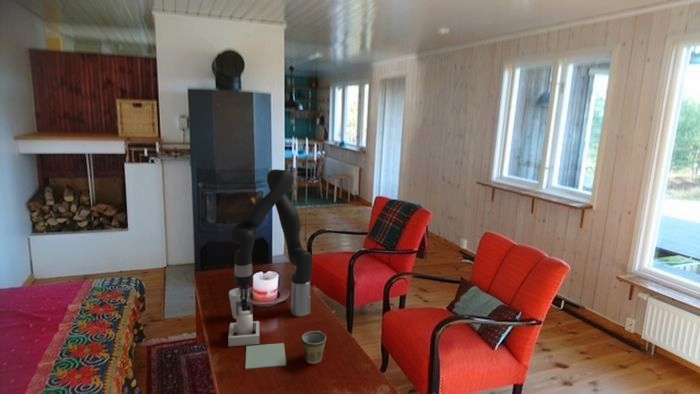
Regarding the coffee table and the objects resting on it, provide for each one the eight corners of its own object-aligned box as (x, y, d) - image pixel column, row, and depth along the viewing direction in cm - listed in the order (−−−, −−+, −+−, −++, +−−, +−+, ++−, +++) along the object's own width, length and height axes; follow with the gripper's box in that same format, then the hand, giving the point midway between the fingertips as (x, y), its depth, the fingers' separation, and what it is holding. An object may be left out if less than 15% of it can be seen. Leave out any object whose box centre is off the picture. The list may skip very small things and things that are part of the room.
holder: (259, 328, 195) (259, 321, 195) (259, 344, 183) (259, 335, 182) (230, 331, 193) (230, 323, 192) (228, 346, 180) (228, 338, 179)
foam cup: (251, 312, 210) (251, 288, 208) (245, 321, 201) (245, 296, 199) (233, 311, 211) (233, 287, 209) (226, 320, 202) (225, 295, 200)
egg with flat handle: (237, 329, 190) (236, 298, 187) (252, 327, 192) (252, 297, 188) (236, 337, 183) (235, 305, 180) (252, 335, 185) (252, 304, 182)
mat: (283, 343, 184) (283, 343, 184) (286, 365, 169) (286, 364, 168) (246, 346, 180) (246, 346, 180) (245, 369, 165) (245, 368, 165)
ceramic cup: (322, 368, 168) (322, 345, 166) (298, 364, 170) (298, 341, 168) (330, 350, 180) (330, 329, 178) (307, 347, 182) (308, 326, 180)
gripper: (252, 278, 176) (253, 316, 179) (252, 266, 189) (253, 302, 192) (233, 279, 174) (234, 317, 178) (235, 267, 187) (236, 303, 191)
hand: (244, 309), depth 185 cm, fingers closed on egg with flat handle, 1 cm apart
